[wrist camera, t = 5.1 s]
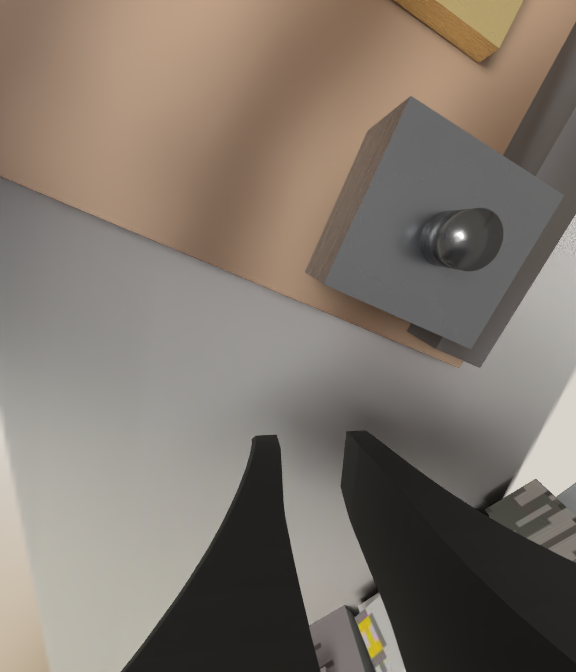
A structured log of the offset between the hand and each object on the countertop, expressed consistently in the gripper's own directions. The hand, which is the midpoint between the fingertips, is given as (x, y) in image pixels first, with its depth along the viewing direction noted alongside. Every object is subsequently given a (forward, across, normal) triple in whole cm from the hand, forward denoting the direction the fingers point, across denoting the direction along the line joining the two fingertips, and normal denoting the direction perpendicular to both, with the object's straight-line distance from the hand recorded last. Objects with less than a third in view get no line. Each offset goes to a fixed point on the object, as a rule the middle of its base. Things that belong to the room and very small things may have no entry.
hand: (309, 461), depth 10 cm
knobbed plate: (+1, -3, -7) cm, 7 cm away
